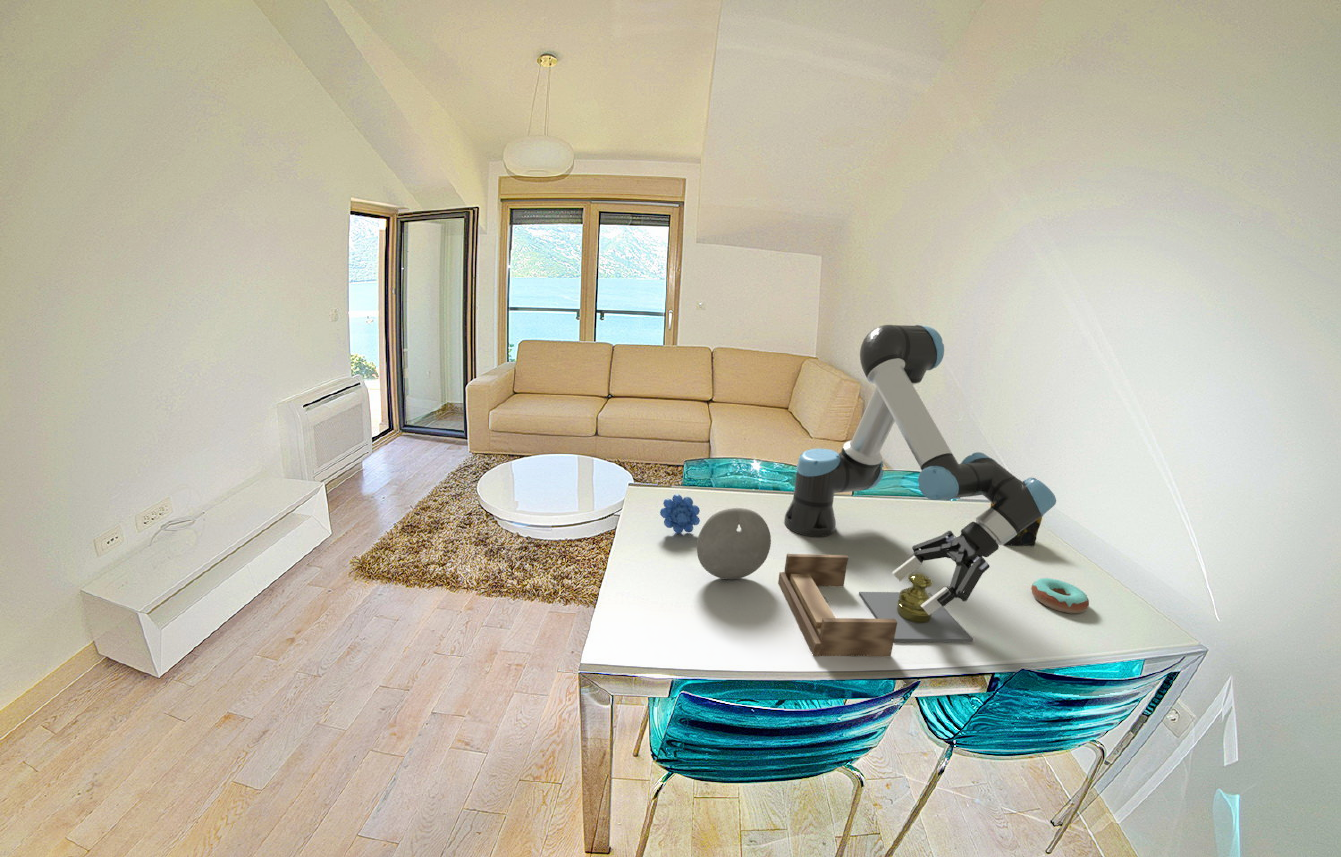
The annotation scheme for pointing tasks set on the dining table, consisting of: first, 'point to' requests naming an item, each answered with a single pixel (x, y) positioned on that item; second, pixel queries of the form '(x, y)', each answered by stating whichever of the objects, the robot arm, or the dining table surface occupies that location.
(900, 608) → the gold rounded piece
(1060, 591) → the donut
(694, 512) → the blue flower
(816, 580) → the offcut rack
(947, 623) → the charcoal mat
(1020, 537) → the yellow brown cube
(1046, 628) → the dining table surface
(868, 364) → the robot arm
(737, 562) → the grey thick disc
